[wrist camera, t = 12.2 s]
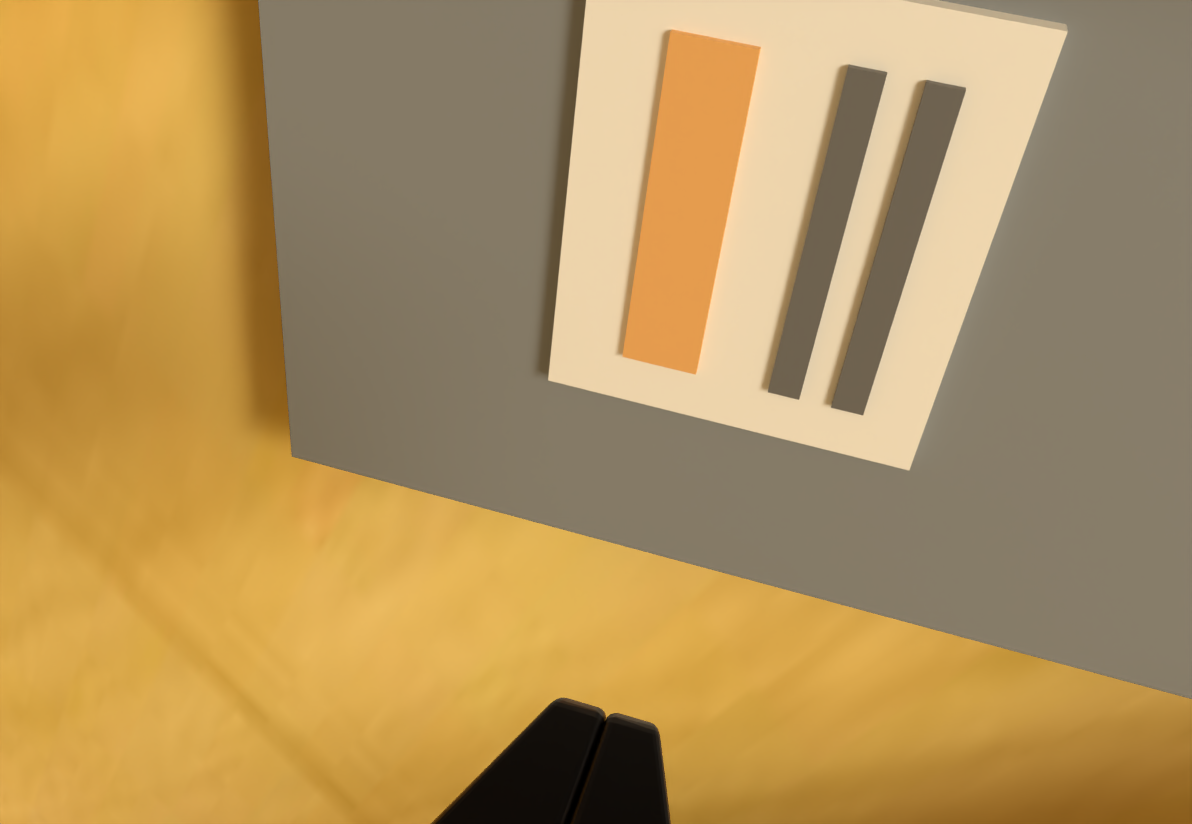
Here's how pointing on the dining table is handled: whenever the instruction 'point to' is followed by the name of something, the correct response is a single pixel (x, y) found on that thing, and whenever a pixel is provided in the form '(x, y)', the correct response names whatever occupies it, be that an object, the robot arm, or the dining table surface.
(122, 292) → the dining table surface
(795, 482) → the label board
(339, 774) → the dining table surface
